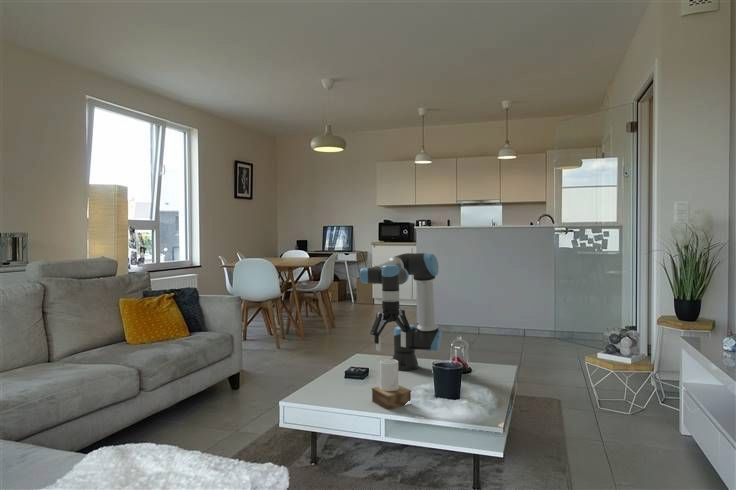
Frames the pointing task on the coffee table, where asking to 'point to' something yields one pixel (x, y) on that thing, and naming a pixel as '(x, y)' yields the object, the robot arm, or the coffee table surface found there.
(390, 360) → the mug
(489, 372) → the coffee table surface
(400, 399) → the walnut box
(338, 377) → the coffee table surface
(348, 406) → the coffee table surface
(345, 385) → the coffee table surface
